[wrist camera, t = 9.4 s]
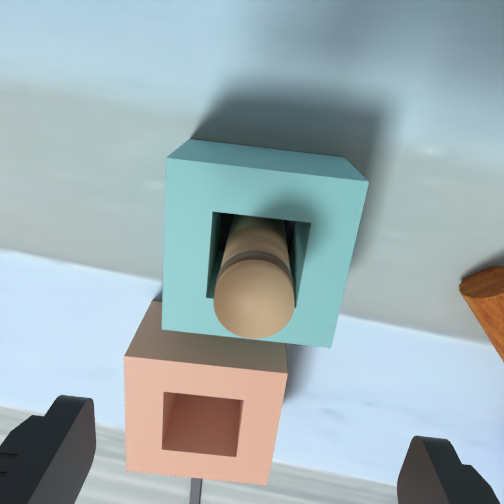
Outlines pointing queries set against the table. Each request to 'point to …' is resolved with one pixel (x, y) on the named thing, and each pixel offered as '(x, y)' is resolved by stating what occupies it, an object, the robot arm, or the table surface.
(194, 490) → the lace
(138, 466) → the bead terracotta
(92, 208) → the table surface
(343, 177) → the bead teal
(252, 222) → the rounded wooden dowel
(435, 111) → the table surface
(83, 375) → the table surface
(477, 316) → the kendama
